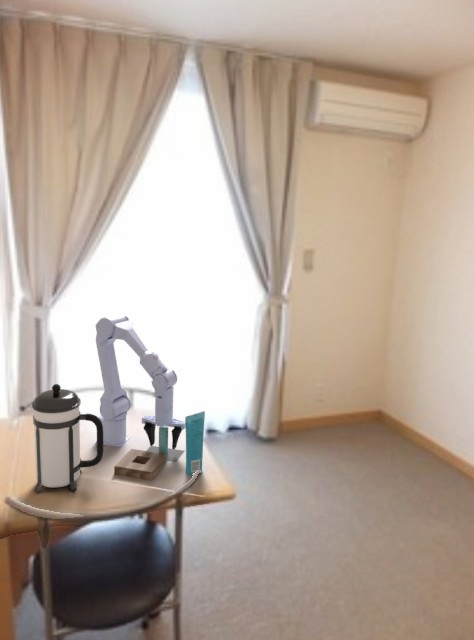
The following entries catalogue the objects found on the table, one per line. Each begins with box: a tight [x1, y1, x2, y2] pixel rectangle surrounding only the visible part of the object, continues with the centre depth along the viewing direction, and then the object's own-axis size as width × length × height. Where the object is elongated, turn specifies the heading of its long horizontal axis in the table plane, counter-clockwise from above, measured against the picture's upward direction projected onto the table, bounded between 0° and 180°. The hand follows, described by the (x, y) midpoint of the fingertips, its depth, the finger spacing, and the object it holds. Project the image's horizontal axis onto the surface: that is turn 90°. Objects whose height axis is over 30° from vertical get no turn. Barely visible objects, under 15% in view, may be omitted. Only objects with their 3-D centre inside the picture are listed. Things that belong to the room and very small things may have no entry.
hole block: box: [113, 448, 167, 481], centre depth 156 cm, size 12×12×3 cm
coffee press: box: [27, 383, 104, 494], centre depth 144 cm, size 17×16×30 cm
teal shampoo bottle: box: [185, 410, 206, 476], centre depth 154 cm, size 7×5×19 cm, turn 140°
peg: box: [158, 426, 169, 454], centre depth 165 cm, size 3×3×9 cm
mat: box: [145, 445, 185, 463], centre depth 166 cm, size 12×8×1 cm, turn 77°
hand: (163, 446), depth 166 cm, fingers open, 7 cm apart
